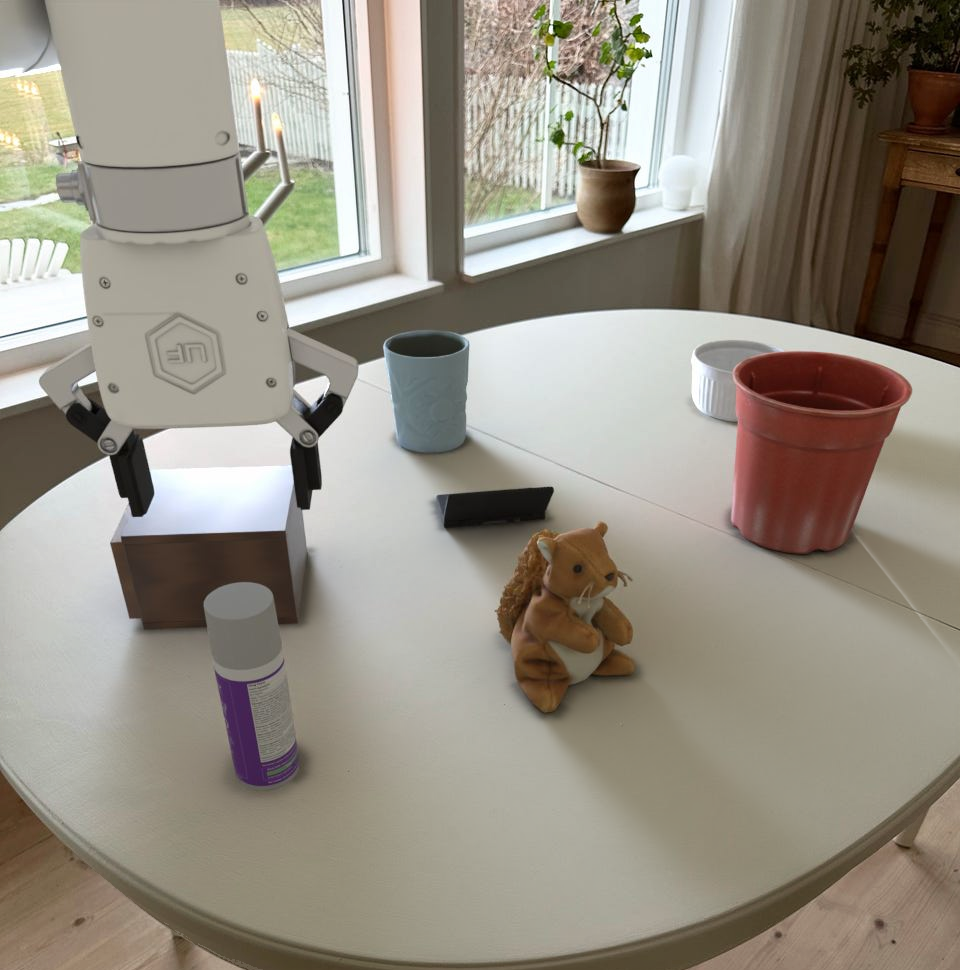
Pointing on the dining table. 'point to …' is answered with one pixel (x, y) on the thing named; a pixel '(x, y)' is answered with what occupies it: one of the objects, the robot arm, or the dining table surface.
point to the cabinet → (215, 542)
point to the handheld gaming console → (494, 506)
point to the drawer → (124, 567)
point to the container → (252, 684)
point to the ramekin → (721, 374)
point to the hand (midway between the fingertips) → (225, 503)
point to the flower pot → (808, 444)
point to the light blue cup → (428, 388)
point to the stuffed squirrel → (564, 614)
